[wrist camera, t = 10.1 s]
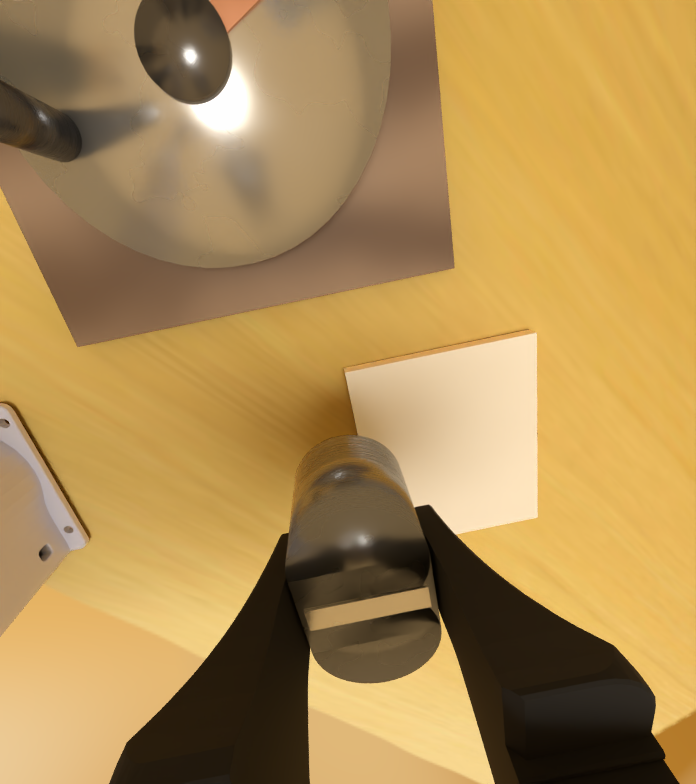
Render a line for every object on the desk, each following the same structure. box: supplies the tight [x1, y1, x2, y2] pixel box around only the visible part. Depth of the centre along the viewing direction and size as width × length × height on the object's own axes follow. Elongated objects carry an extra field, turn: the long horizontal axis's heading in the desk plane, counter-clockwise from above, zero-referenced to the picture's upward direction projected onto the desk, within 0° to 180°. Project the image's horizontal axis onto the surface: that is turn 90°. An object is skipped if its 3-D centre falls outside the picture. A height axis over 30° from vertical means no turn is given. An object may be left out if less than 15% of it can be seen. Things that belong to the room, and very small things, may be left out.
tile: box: [344, 330, 537, 534], centre depth 22 cm, size 12×10×1 cm
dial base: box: [0, 0, 454, 347], centre depth 14 cm, size 18×18×2 cm
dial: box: [0, 0, 391, 268], centre depth 12 cm, size 14×14×5 cm
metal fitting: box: [285, 435, 441, 683], centre depth 13 cm, size 7×4×4 cm, turn 11°
